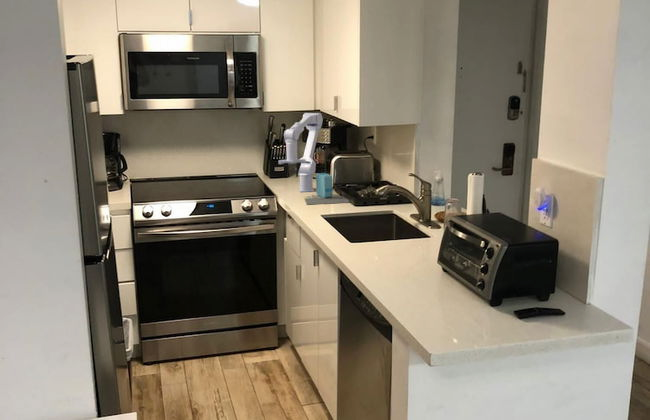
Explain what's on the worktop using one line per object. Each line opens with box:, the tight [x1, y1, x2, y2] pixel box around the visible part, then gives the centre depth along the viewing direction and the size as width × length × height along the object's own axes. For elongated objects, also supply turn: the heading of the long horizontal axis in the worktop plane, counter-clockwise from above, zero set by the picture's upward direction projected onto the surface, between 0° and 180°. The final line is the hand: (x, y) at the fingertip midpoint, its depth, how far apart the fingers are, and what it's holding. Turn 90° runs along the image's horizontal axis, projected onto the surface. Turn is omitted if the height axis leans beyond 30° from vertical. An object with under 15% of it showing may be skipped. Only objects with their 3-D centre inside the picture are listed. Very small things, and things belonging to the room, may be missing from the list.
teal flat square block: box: [315, 172, 334, 198], centre depth 356 cm, size 12×4×12 cm, turn 23°
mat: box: [304, 196, 351, 206], centre depth 347 cm, size 14×22×1 cm, turn 97°
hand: (292, 176), depth 359 cm, fingers open, 4 cm apart
